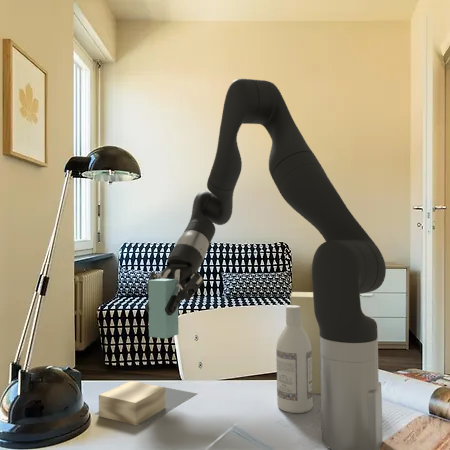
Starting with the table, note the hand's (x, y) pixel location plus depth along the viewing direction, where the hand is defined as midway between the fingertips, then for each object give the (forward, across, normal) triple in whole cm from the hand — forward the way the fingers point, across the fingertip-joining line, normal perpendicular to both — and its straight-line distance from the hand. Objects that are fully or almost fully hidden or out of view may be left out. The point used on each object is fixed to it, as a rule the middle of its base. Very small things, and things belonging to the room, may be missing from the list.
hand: (158, 312), depth 90 cm
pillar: (+2, 0, +5) cm, 6 cm away
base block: (+19, 0, +7) cm, 20 cm away
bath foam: (+7, +27, +20) cm, 34 cm away
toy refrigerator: (-1, +26, +28) cm, 38 cm away
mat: (+15, 0, +11) cm, 19 cm away
